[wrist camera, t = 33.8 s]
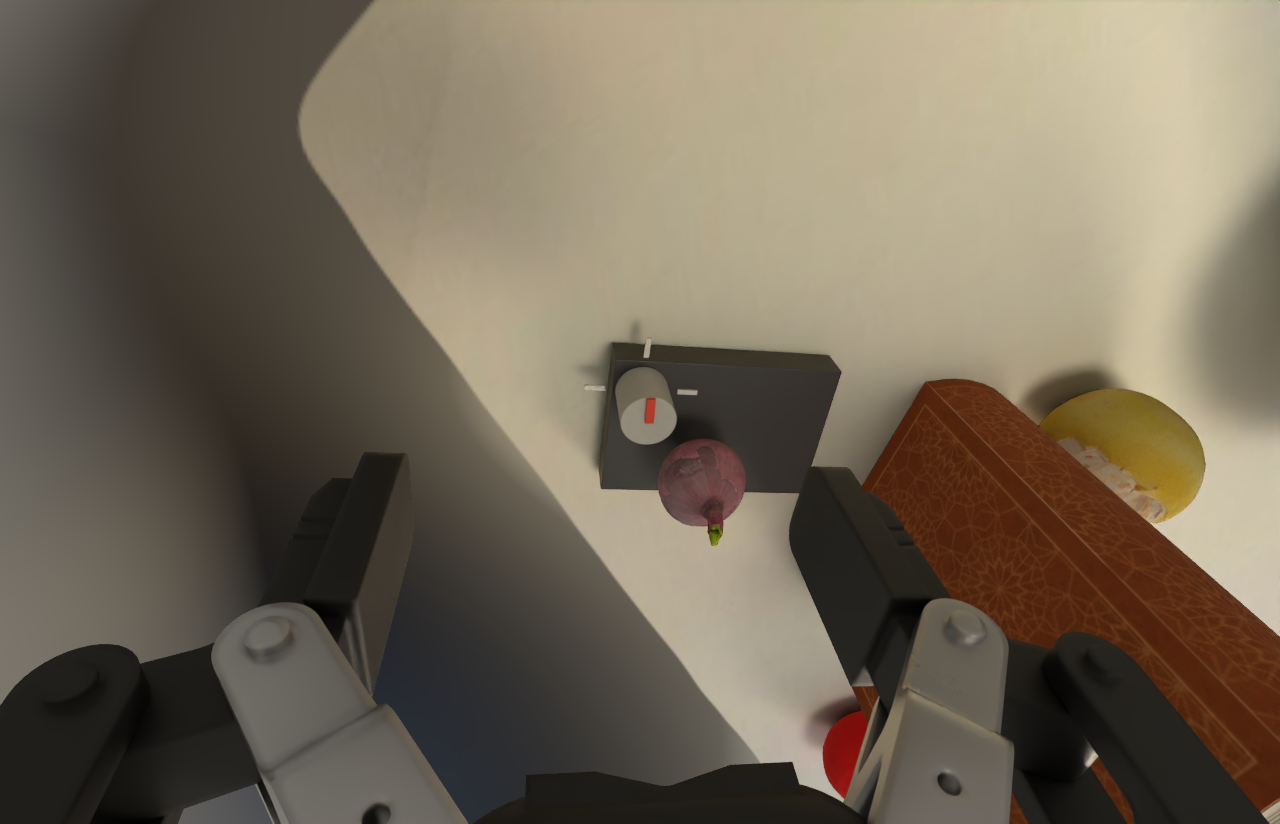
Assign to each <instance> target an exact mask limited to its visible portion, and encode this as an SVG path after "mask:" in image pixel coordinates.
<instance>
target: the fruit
mask: <svg viewBox="0 0 1280 824" xmlns="http://www.w3.org/2000/svg"><path fill="white" fill-rule="evenodd" d="M1039 427H1040V428H1041V429H1042V430H1043V431H1044V432H1045V433H1047V434H1048V435H1049V436H1050V437H1051V438H1052V439H1053V440H1055V441H1056V442H1057V443H1058V444H1059V445H1060V446H1061V447H1063V448H1064V449H1065V450H1066V451H1067V452H1068V453H1069V454H1071V455H1072V456H1073V457H1074V458H1075V459H1076V460H1078V461H1079V462H1080V463H1081V464H1082V465H1083V466H1084V467H1086V468H1087V469H1088V470H1089V471H1090V472H1091V473H1092V474H1094V475H1095V476H1096V477H1097V478H1098V479H1099V480H1100V481H1102V482H1103V483H1104V484H1105V485H1106V486H1107V487H1109V488H1110V489H1111V490H1112V491H1113V492H1114V493H1115V494H1117V495H1118V496H1119V497H1120V498H1121V499H1122V500H1123V501H1125V502H1126V503H1127V504H1128V505H1129V506H1130V507H1131V508H1133V509H1134V510H1135V511H1136V512H1137V513H1138V514H1140V515H1141V516H1142V517H1143V518H1144V519H1145V520H1146V521H1148V522H1149V523H1159V522H1162V521H1165V520H1167V519H1170V518H1172V517H1173V516H1175V515H1177V514H1178V513H1180V512H1181V511H1183V510H1184V509H1185V508H1186V507H1187V506H1188V505H1189V504H1190V503H1191V502H1192V501H1193V499H1194V498H1195V496H1196V495H1197V493H1198V491H1199V488H1200V486H1201V484H1202V481H1203V476H1204V472H1205V465H1206V464H1205V458H1204V453H1203V448H1202V445H1201V442H1200V440H1199V438H1198V436H1197V435H1196V433H1195V431H1194V430H1193V429H1192V428H1191V426H1190V425H1189V424H1188V423H1187V422H1186V421H1185V420H1184V419H1183V418H1182V417H1180V416H1179V415H1178V414H1177V413H1176V412H1174V411H1173V410H1172V409H1170V408H1169V407H1168V406H1166V405H1165V404H1164V403H1162V402H1160V401H1159V400H1157V399H1155V398H1153V397H1151V396H1148V395H1146V394H1143V393H1140V392H1136V391H1132V390H1126V389H1102V390H1096V391H1091V392H1088V393H1085V394H1082V395H1080V396H1077V397H1075V398H1072V399H1070V400H1068V401H1066V402H1065V403H1063V404H1061V405H1060V406H1058V407H1057V408H1055V409H1054V410H1053V411H1052V412H1051V413H1050V414H1049V415H1048V416H1047V417H1046V418H1045V419H1044V420H1043V421H1042V422H1041V424H1040V426H1039Z"/></svg>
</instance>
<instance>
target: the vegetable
mask: <svg viewBox="0 0 1280 824" xmlns="http://www.w3.org/2000/svg"><path fill="white" fill-rule="evenodd" d="M745 483H746V481H745V470H744V466H743V464H742V462H741V460H740V458H739V457H738V455H737V454H736V453H735V452H734V451H733V450H732V449H731V448H729V447H728V446H727V445H725V444H723V443H721V442H719V441H716V440H712V439H695V440H691V441H688V442H685V443H683V444H681V445H679V446H677V447H676V448H675V449H673V450H672V451H671V452H670V453H669V454H668V455H667V457H666V458H665V460H664V462H663V464H662V466H661V469H660V472H659V477H658V490H659V494H660V497H661V501H662V503H663V505H664V507H665V509H666V510H667V512H668V513H669V514H670V515H671V516H672V517H673V518H675V519H676V520H678V521H679V522H681V523H683V524H686V525H690V526H708V531H707V532H708V534H709V538H710V541H711V545H712V546H716V545H717V544H718V541H719V539H720V538H721V536H722V534H723V520H725V519H726V518H727V517H729V516H730V515H731V514H732V513H733V512H734V511H735V509H736V508H737V507H738V505H739V503H740V501H741V500H742V497H743V494H744V491H745Z"/></svg>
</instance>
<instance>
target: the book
mask: <svg viewBox="0 0 1280 824" xmlns="http://www.w3.org/2000/svg"><path fill="white" fill-rule="evenodd" d="M862 488H863V490H864V491H865V492H872V493H874V494H875V495H876V496H877V497H879V498H880V499H881V500H882V501H883V502H885V503H886V504H887V505H888V506H889V507H891V508H892V509H893V511H894V512H895V514H896V515H897V517H898V518H899V520H900V521H901V523H902V524H903V526H904V531H907V532H908V533H909V535H910V536H911V538H912V539H913V541H914V542H915V543H914V545H915V546H917V547H918V548H919V550H920V551H921V553H922V554H923V556H924V557H925V559H926V560H927V562H928V563H929V565H930V566H931V568H932V569H933V570H934V572H935V573H936V575H937V576H938V578H939V579H940V581H941V582H942V584H943V585H944V587H945V588H946V590H947V591H948V593H949V594H950V596H951V597H952V599H955V600H959V601H962V602H965V603H967V604H970V605H972V606H974V607H976V608H977V609H979V610H981V611H982V612H984V613H985V614H986V615H988V616H989V617H990V618H991V619H992V620H993V621H995V622H996V624H997V625H998V626H999V627H1000V628H1001V630H1002V631H1003V633H1004V634H1005V636H1006V637H1007V638H1010V639H1014V640H1018V641H1021V642H1025V643H1029V644H1033V645H1037V646H1041V647H1045V648H1049V649H1051V648H1052V647H1053V645H1054V644H1055V643H1056V641H1057V640H1058V638H1059V637H1060V636H1061V635H1062V634H1064V633H1067V632H1072V631H1078V632H1085V633H1089V634H1093V635H1095V636H1098V637H1101V638H1103V639H1105V640H1107V641H1109V642H1111V643H1112V644H1114V645H1116V646H1117V647H1119V648H1120V649H1122V650H1123V651H1124V652H1126V653H1127V654H1128V655H1129V656H1131V657H1132V658H1133V659H1134V660H1135V661H1136V662H1137V663H1138V664H1139V665H1140V667H1141V668H1142V669H1143V670H1144V671H1145V673H1146V674H1147V675H1148V676H1149V677H1150V679H1151V680H1152V681H1153V682H1154V683H1155V685H1156V686H1157V687H1158V688H1159V690H1160V691H1161V692H1162V693H1163V694H1164V696H1165V697H1166V698H1167V699H1168V700H1169V702H1170V703H1171V704H1172V705H1173V707H1174V708H1175V709H1176V710H1177V711H1178V713H1179V714H1180V715H1181V716H1182V717H1183V719H1184V720H1185V721H1186V722H1187V724H1188V725H1189V726H1190V727H1191V728H1192V730H1193V731H1194V732H1195V733H1196V734H1197V736H1198V737H1199V738H1200V739H1201V741H1202V742H1203V743H1204V744H1205V745H1206V747H1207V748H1208V749H1209V750H1210V751H1211V753H1212V754H1213V755H1214V756H1215V758H1216V759H1217V760H1218V761H1219V762H1220V764H1221V765H1222V766H1223V767H1224V768H1225V770H1226V771H1227V772H1228V773H1229V775H1230V776H1231V777H1232V778H1233V779H1234V781H1235V782H1236V783H1237V784H1238V785H1239V787H1240V788H1241V789H1242V790H1243V792H1244V793H1245V794H1246V795H1247V796H1248V798H1249V799H1250V800H1251V801H1252V802H1253V804H1254V805H1255V806H1256V807H1257V809H1258V810H1259V811H1260V812H1261V813H1262V815H1263V816H1264V817H1265V818H1266V819H1267V821H1268V822H1269V823H1270V824H1280V636H1278V635H1277V634H1276V633H1275V632H1274V631H1273V630H1272V629H1270V628H1269V627H1268V626H1267V625H1266V624H1265V623H1263V622H1262V621H1261V620H1260V619H1259V618H1258V617H1257V616H1255V615H1254V614H1253V613H1252V612H1251V611H1250V610H1249V609H1247V608H1246V607H1245V606H1244V605H1243V604H1242V603H1241V602H1239V601H1238V600H1237V599H1236V598H1235V597H1234V596H1232V595H1231V594H1230V593H1229V592H1228V591H1227V590H1226V589H1224V588H1223V587H1222V586H1221V585H1220V584H1219V583H1218V582H1216V581H1215V580H1214V579H1213V578H1212V577H1211V576H1210V575H1208V574H1207V573H1206V572H1205V571H1204V570H1203V569H1202V568H1200V567H1199V566H1198V565H1197V564H1196V563H1195V562H1193V561H1192V560H1191V559H1190V558H1189V557H1188V556H1187V555H1185V554H1184V553H1183V552H1182V551H1181V550H1180V549H1179V548H1177V547H1176V546H1175V545H1174V544H1173V543H1172V542H1171V541H1169V540H1168V539H1167V538H1166V537H1165V536H1164V535H1162V534H1161V533H1160V532H1159V531H1158V530H1157V529H1156V528H1154V527H1153V526H1152V525H1151V524H1150V523H1149V522H1148V521H1146V520H1145V519H1144V518H1143V517H1142V516H1141V515H1140V514H1138V513H1137V512H1136V511H1135V510H1134V509H1133V508H1131V507H1130V506H1129V505H1128V504H1127V503H1126V502H1125V501H1123V500H1122V499H1121V498H1120V497H1119V496H1118V495H1117V494H1115V493H1114V492H1113V491H1112V490H1111V489H1110V488H1109V487H1107V486H1106V485H1105V484H1104V483H1103V482H1102V481H1100V480H1099V479H1098V478H1097V477H1096V476H1095V475H1094V474H1092V473H1091V472H1090V471H1089V470H1088V469H1087V468H1086V467H1084V466H1083V465H1082V464H1081V463H1080V462H1079V461H1078V460H1076V459H1075V458H1074V457H1073V456H1072V455H1071V454H1069V453H1068V452H1067V451H1066V450H1065V449H1064V448H1063V447H1061V446H1060V445H1059V444H1058V443H1057V442H1056V441H1055V440H1053V439H1052V438H1051V437H1050V436H1049V435H1048V434H1047V433H1045V432H1044V431H1043V430H1042V429H1041V428H1040V427H1039V426H1037V425H1036V424H1035V423H1034V422H1033V421H1032V420H1030V419H1029V418H1028V417H1027V416H1026V415H1025V414H1024V413H1022V412H1021V411H1020V410H1019V409H1018V408H1017V407H1016V406H1014V405H1013V404H1012V403H1011V402H1010V401H1009V400H1008V399H1006V398H1005V397H1004V396H1003V395H1002V394H1000V393H999V392H998V391H996V390H995V389H994V388H991V387H989V386H987V385H985V384H982V383H978V382H974V381H970V380H962V379H946V380H938V381H931V382H926V383H925V384H924V385H923V387H922V389H921V390H920V392H919V394H918V395H917V397H916V399H915V400H914V402H913V403H912V405H911V407H910V408H909V410H908V412H907V413H906V415H905V417H904V418H903V420H902V422H901V423H900V425H899V427H898V428H897V430H896V431H895V433H894V435H893V436H892V438H891V440H890V441H889V443H888V445H887V446H886V448H885V450H884V451H883V453H882V455H881V456H880V458H879V459H878V461H877V463H876V464H875V466H874V468H873V469H872V471H871V473H870V474H869V476H868V478H867V479H866V481H865V482H864V484H863V486H862ZM852 689H853V691H854V693H855V696H856V698H857V700H858V702H859V705H860V707H861V709H862V711H863V714H864V716H865V718H866V721H867V723H868V724H869V721H870V717H871V714H872V711H873V707H874V705H875V703H876V701H877V699H878V697H879V695H878V693H877V690H876V688H875V686H852ZM1090 767H1091V768H1092V770H1093V771H1094V773H1095V774H1096V776H1097V777H1098V779H1099V780H1100V782H1101V784H1102V785H1103V787H1104V788H1105V790H1106V791H1107V793H1108V794H1109V796H1110V797H1111V799H1112V800H1113V802H1114V804H1115V805H1116V807H1117V808H1118V810H1119V811H1120V813H1121V814H1122V816H1123V817H1124V819H1125V821H1126V822H1127V824H1134V817H1133V813H1132V810H1131V807H1130V805H1129V803H1128V801H1127V799H1126V798H1125V796H1124V795H1123V793H1122V792H1121V790H1120V789H1119V787H1118V786H1117V784H1116V783H1115V781H1114V780H1113V778H1112V777H1111V775H1110V774H1109V772H1108V771H1107V769H1106V768H1105V766H1104V765H1103V763H1102V762H1101V760H1100V759H1099V757H1097V759H1096V760H1095V761H1094V762H1093V763H1092V764H1091V765H1090ZM1009 824H1029V823H1028V821H1027V820H1026V818H1025V816H1024V814H1023V812H1022V810H1021V808H1020V806H1019V804H1018V802H1017V801H1016V799H1015V797H1014V795H1013V793H1012V791H1011V804H1010V818H1009Z"/></svg>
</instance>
